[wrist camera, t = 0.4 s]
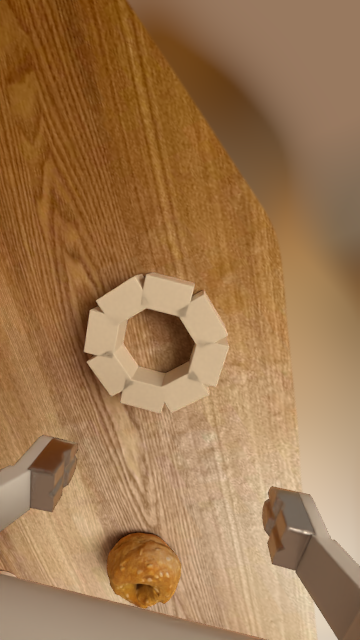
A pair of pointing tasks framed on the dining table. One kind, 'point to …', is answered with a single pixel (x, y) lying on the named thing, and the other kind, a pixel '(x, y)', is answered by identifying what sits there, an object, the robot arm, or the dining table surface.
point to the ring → (148, 384)
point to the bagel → (143, 569)
